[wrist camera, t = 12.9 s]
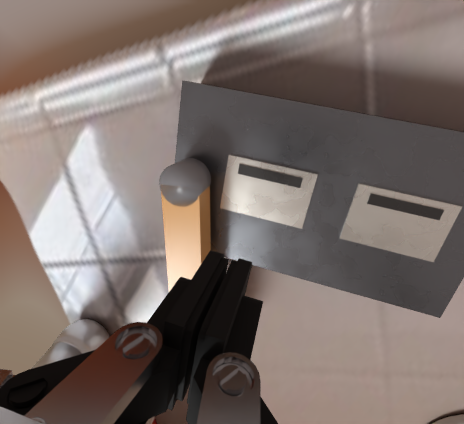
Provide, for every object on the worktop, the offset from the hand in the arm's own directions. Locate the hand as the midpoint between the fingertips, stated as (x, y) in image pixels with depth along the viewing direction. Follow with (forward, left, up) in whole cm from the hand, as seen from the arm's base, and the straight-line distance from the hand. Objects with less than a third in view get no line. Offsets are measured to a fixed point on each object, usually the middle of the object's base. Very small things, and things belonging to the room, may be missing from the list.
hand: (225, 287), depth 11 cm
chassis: (-4, 0, -17) cm, 18 cm away
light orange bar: (+5, +9, -12) cm, 16 cm away
